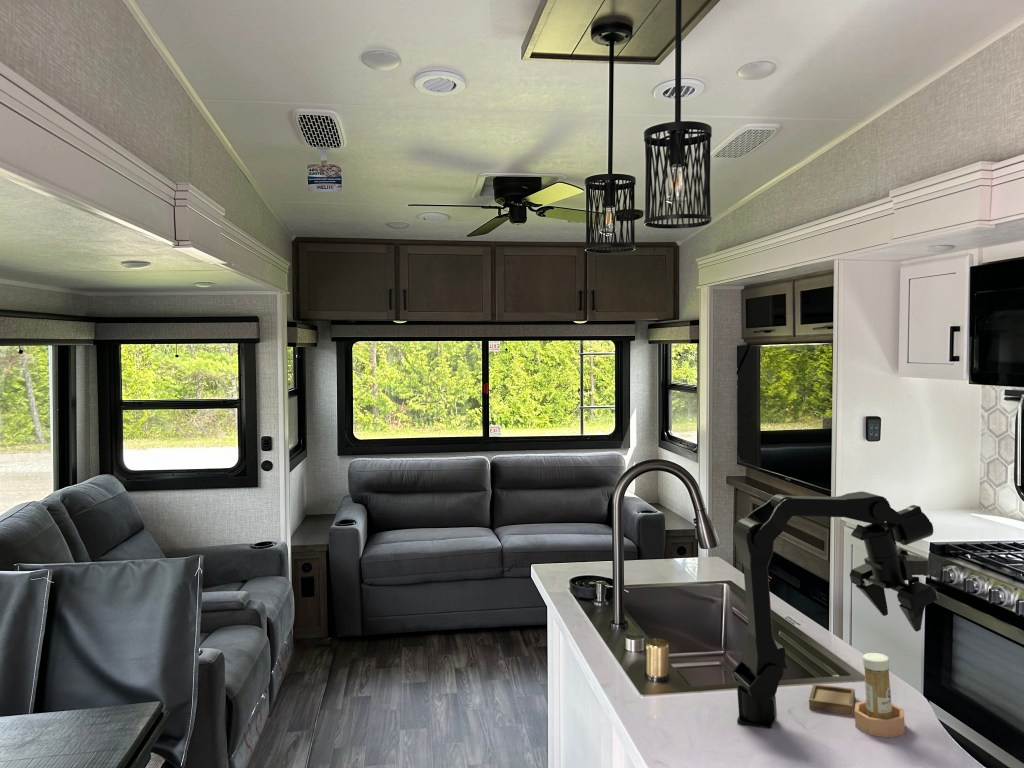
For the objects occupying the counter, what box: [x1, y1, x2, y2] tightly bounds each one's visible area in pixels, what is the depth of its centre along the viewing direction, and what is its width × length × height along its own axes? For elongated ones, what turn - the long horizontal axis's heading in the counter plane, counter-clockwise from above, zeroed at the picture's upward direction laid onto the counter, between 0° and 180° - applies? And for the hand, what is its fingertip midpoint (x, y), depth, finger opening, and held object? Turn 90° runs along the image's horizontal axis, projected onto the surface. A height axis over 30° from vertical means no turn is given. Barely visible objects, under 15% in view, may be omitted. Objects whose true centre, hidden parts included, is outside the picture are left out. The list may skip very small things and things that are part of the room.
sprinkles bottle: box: [862, 652, 892, 720], centre depth 143 cm, size 5×5×13 cm
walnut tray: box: [808, 683, 856, 716], centre depth 153 cm, size 8×8×2 cm
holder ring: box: [854, 700, 906, 738], centre depth 143 cm, size 8×8×3 cm
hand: (901, 622), depth 153 cm, fingers open, 9 cm apart
